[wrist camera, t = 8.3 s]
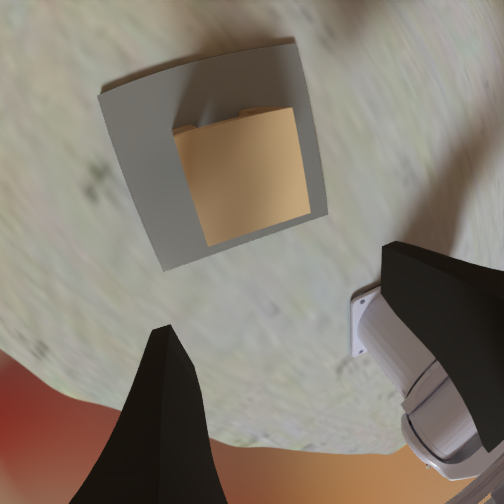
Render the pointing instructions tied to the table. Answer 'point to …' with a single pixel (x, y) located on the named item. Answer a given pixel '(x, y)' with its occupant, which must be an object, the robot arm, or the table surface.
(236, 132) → the stool
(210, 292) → the table surface
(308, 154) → the plate
